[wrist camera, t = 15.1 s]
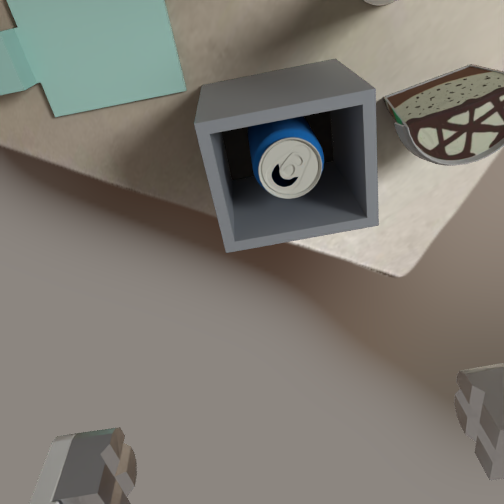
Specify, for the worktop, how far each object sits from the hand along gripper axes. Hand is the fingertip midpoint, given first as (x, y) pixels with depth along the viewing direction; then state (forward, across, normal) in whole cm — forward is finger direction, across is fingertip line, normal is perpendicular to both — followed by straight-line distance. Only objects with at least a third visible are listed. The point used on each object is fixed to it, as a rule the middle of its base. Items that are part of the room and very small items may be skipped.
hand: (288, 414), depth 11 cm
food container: (+41, -20, +7) cm, 46 cm away
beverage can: (+41, -3, +6) cm, 42 cm away
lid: (+41, +14, -6) cm, 44 cm away
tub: (+41, -3, +6) cm, 42 cm away
